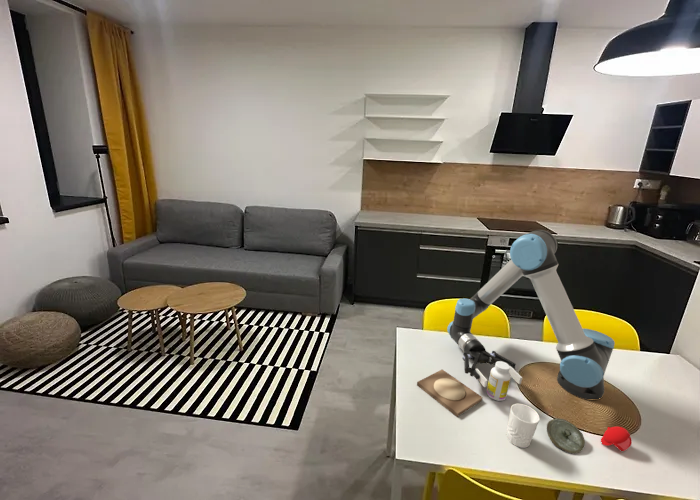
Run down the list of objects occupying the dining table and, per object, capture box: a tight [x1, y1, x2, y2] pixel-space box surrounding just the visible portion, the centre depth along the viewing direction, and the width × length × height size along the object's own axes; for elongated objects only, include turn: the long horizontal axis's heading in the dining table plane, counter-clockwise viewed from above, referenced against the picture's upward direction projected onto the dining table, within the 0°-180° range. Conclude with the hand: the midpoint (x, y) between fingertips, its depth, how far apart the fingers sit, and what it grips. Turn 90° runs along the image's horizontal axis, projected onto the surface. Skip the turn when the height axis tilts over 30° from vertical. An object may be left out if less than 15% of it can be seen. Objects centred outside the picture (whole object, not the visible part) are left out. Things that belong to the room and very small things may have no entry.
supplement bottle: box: [486, 361, 512, 402], centre depth 124 cm, size 7×7×13 cm
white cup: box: [505, 403, 541, 449], centre depth 107 cm, size 8×8×10 cm
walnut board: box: [416, 369, 483, 418], centre depth 126 cm, size 18×14×2 cm
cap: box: [600, 426, 633, 452], centre depth 108 cm, size 8×6×6 cm
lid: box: [546, 418, 586, 455], centre depth 108 cm, size 11×10×5 cm
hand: (503, 382), depth 122 cm, fingers open, 13 cm apart
